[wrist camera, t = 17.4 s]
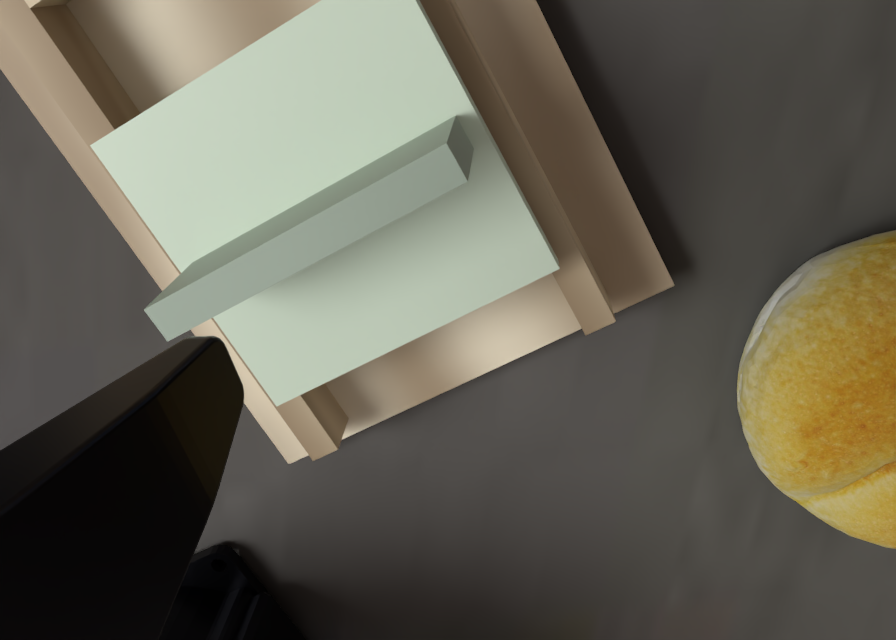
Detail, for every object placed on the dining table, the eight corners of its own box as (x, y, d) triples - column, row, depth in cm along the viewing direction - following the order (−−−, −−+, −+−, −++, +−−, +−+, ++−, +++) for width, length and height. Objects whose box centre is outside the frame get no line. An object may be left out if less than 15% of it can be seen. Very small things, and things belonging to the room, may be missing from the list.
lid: (282, 394, 21) (243, 470, 18) (101, 140, 19) (21, 176, 16) (558, 260, 19) (567, 318, 16) (395, -45, 17) (369, -44, 14)
